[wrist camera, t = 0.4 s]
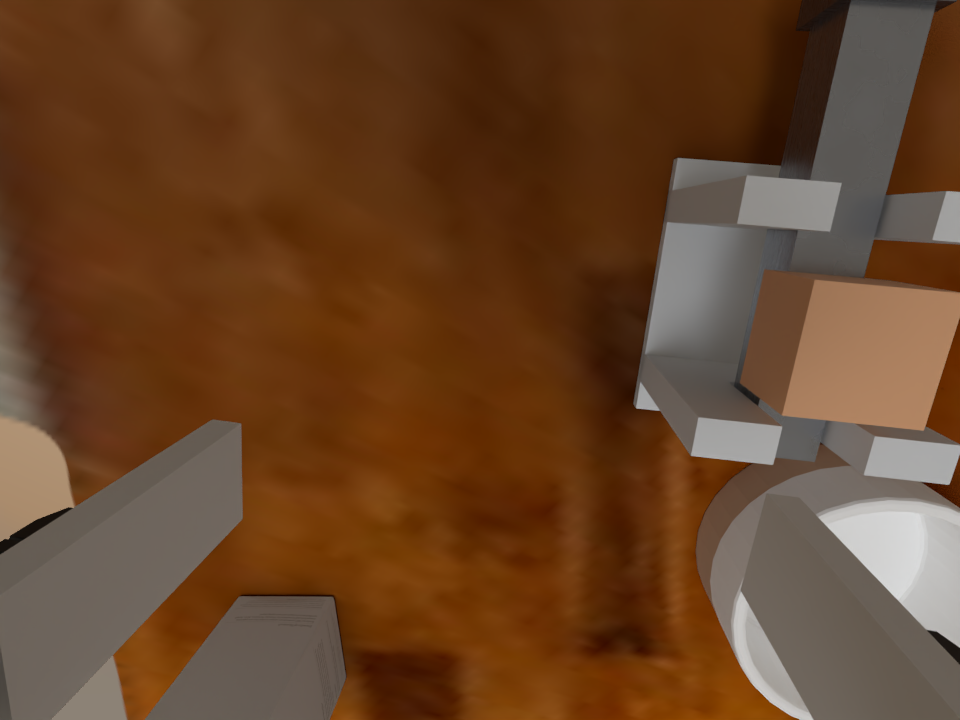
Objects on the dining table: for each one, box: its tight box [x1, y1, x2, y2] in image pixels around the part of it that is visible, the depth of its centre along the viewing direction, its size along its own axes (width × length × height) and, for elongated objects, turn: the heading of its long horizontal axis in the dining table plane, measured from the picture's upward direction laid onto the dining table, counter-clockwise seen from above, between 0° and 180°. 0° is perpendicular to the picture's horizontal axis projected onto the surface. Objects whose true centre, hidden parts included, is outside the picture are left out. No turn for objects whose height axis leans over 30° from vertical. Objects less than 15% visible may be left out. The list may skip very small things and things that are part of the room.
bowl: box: [696, 444, 960, 720], centre depth 38 cm, size 17×17×8 cm
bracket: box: [633, 158, 960, 485], centre depth 31 cm, size 17×12×14 cm
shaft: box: [734, 0, 957, 462], centre depth 28 cm, size 24×5×5 cm, turn 175°
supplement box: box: [145, 596, 346, 720], centre depth 41 cm, size 9×9×15 cm
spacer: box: [740, 269, 960, 431], centre depth 25 cm, size 6×6×5 cm
